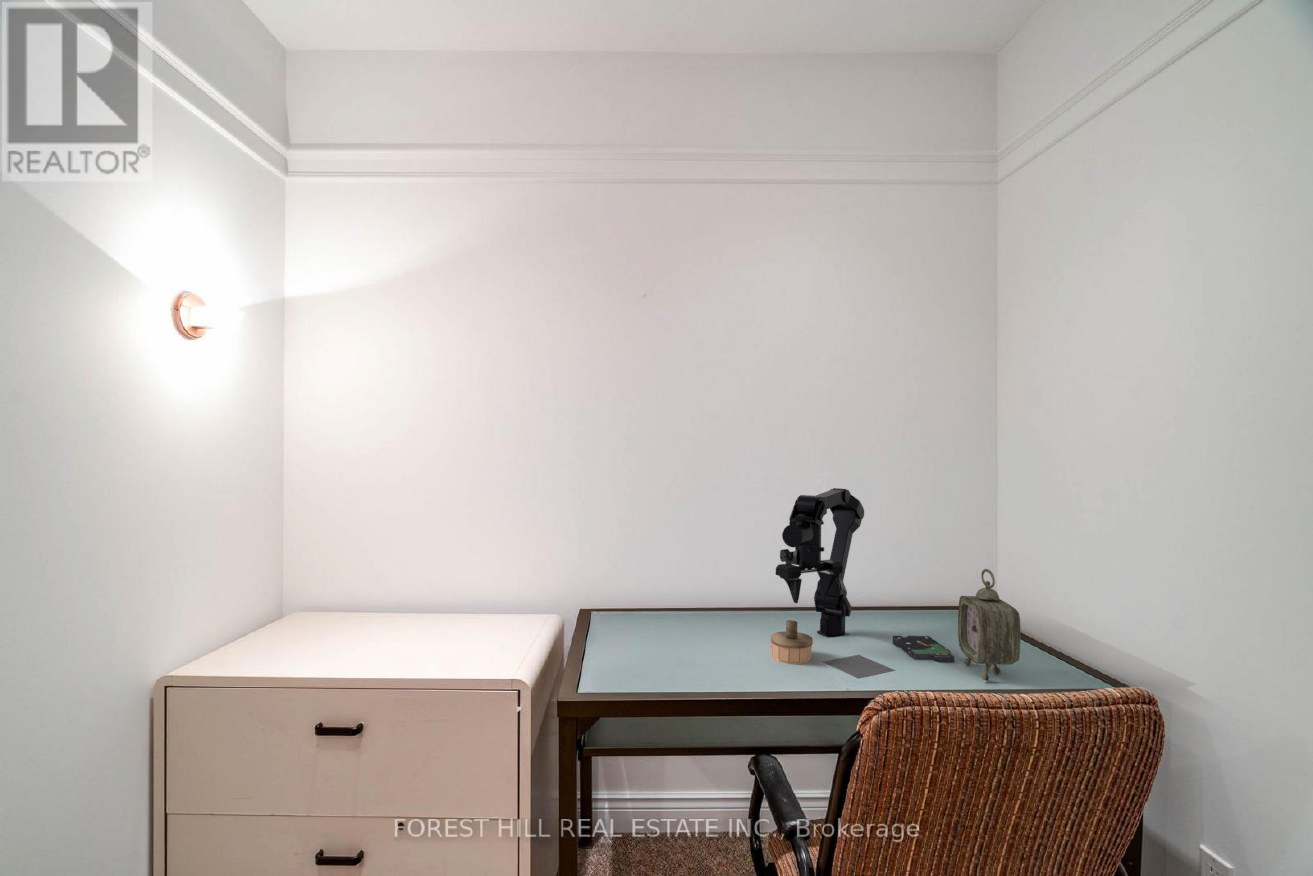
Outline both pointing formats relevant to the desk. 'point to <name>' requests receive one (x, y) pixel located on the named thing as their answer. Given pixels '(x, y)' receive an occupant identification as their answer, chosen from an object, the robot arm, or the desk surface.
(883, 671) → the trivet
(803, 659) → the bowl
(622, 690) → the desk surface
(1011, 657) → the tabletop clock
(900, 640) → the disk drive
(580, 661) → the desk surface
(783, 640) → the lid
